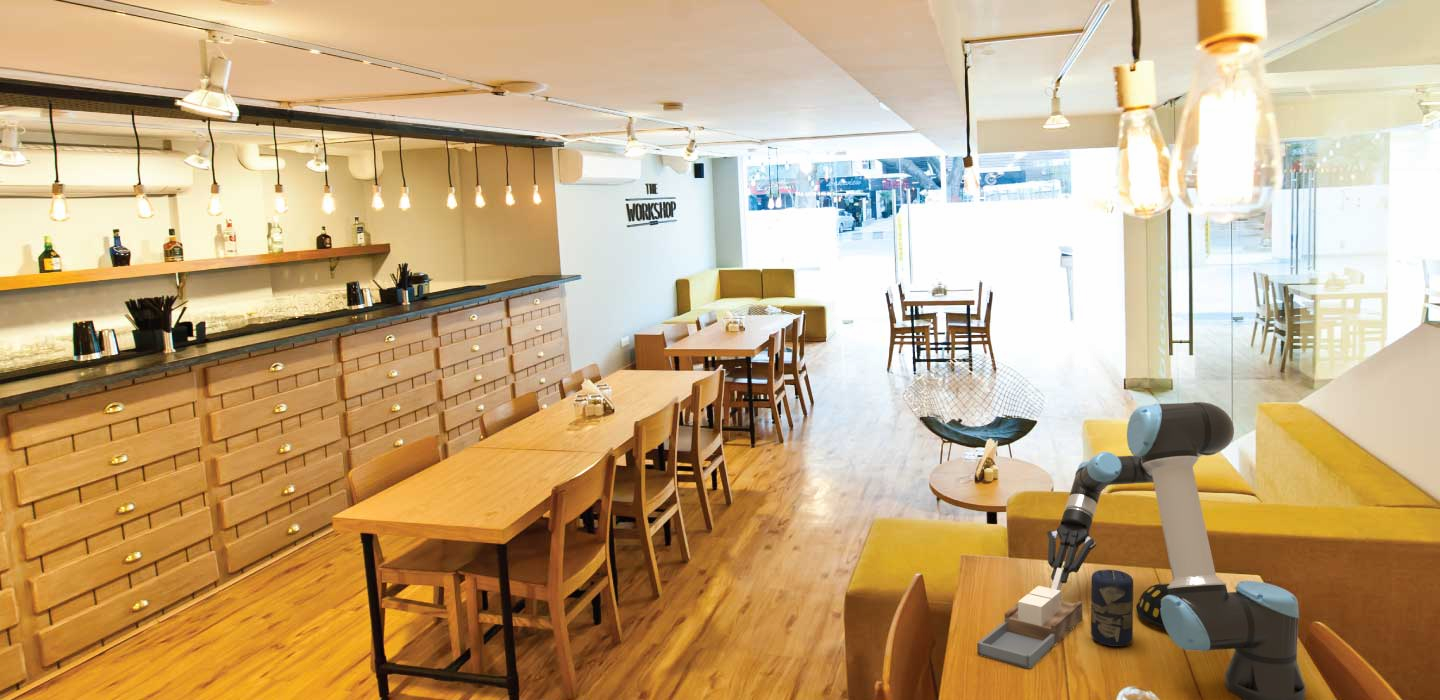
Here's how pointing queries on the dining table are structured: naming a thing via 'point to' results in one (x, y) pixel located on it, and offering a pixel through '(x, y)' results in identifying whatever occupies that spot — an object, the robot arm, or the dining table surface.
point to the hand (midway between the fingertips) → (1054, 592)
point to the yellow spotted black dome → (1152, 604)
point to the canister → (1112, 607)
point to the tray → (1014, 647)
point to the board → (1055, 625)
